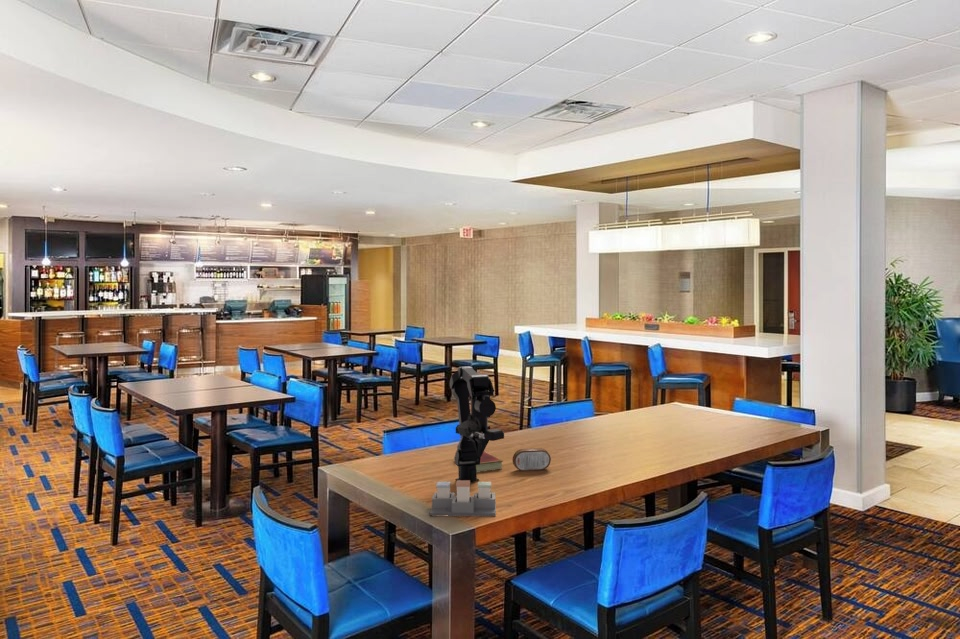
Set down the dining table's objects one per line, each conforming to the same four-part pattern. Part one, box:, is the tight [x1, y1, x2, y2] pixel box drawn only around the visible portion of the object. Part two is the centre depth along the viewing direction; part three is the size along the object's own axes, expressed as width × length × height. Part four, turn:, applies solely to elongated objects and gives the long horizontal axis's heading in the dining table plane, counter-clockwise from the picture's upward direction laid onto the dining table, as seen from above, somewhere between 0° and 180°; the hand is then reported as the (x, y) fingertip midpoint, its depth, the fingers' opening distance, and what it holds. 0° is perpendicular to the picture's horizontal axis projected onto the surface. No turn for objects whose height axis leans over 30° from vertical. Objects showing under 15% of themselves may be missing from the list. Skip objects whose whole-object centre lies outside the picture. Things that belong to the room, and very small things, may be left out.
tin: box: [512, 447, 552, 472], centre depth 257 cm, size 15×3×8 cm, turn 100°
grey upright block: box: [435, 481, 452, 498], centre depth 211 cm, size 4×4×7 cm
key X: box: [455, 480, 471, 502], centre depth 207 cm, size 4×4×7 cm
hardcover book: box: [455, 450, 504, 473], centre depth 265 cm, size 12×21×4 cm, turn 24°
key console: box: [429, 492, 497, 517], centre depth 209 cm, size 11×20×4 cm, turn 88°
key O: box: [477, 481, 492, 498], centre depth 211 cm, size 4×4×7 cm
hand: (479, 456), depth 226 cm, fingers closed
